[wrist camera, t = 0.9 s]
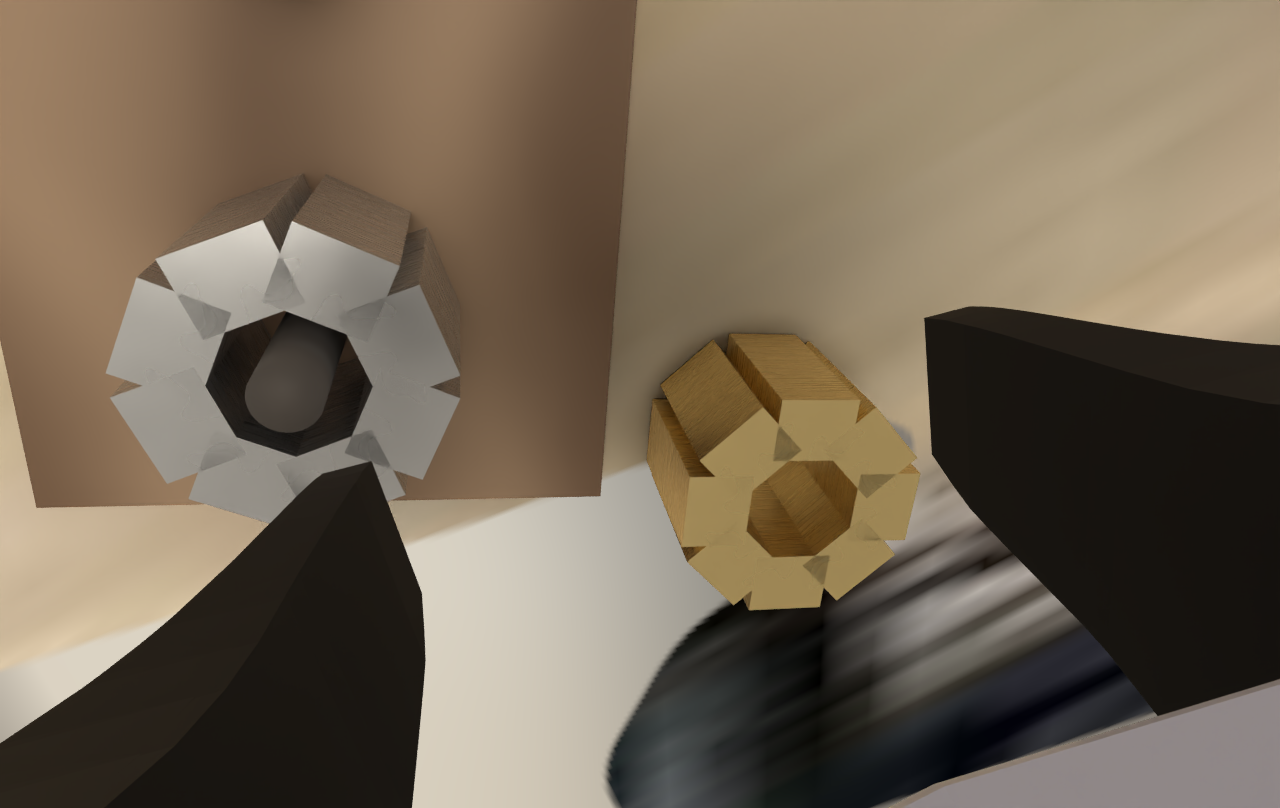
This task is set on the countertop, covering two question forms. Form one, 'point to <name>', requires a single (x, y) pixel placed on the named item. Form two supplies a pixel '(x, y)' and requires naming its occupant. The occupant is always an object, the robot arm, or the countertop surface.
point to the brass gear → (778, 472)
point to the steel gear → (237, 338)
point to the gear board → (313, 145)
